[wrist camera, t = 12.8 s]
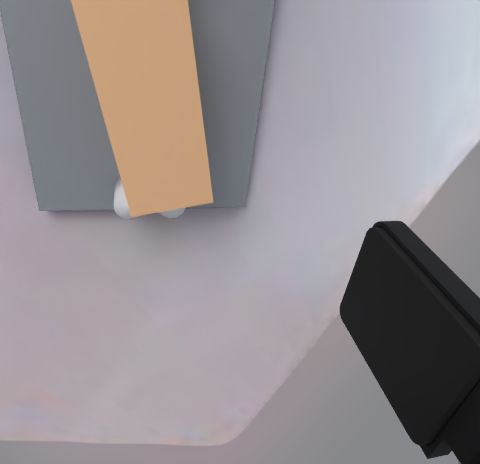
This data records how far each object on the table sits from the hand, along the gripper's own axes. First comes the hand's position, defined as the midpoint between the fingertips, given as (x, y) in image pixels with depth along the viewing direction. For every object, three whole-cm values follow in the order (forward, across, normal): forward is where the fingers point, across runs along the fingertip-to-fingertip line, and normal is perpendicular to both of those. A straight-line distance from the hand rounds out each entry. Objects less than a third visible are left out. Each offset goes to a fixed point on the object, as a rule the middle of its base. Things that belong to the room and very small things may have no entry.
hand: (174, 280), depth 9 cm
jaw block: (+21, 0, +1) cm, 21 cm away
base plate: (+22, 0, +1) cm, 22 cm away
